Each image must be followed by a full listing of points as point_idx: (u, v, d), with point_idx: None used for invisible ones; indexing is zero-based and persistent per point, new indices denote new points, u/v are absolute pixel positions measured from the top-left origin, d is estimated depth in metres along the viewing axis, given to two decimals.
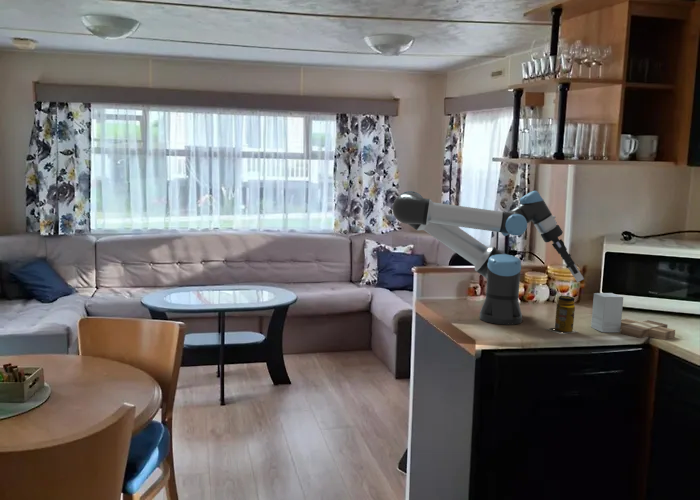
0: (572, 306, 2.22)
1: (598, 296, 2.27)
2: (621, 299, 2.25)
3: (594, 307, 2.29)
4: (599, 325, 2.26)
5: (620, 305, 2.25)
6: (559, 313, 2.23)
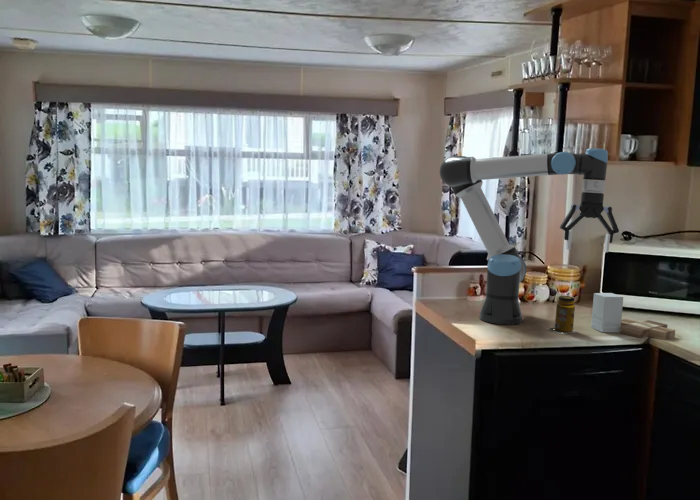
0: (572, 306, 2.22)
1: (598, 296, 2.27)
2: (621, 299, 2.25)
3: (594, 307, 2.29)
4: (599, 325, 2.26)
5: (620, 305, 2.25)
6: (559, 313, 2.23)
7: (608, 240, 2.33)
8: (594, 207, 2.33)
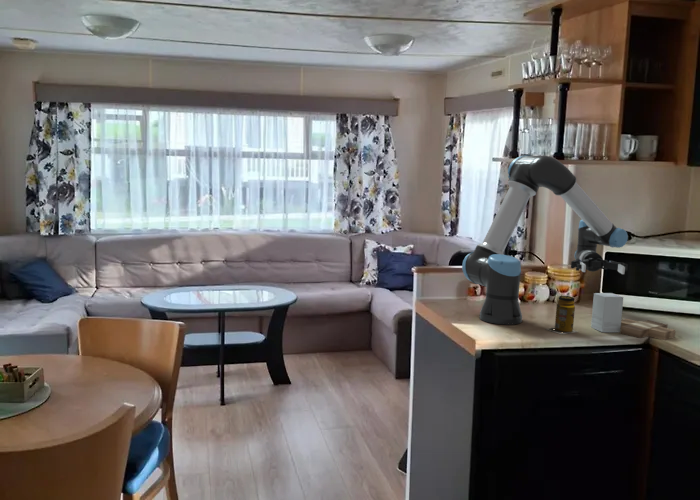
0: (572, 306, 2.22)
1: (598, 296, 2.27)
2: (621, 299, 2.25)
3: (594, 307, 2.29)
4: (599, 325, 2.26)
5: (620, 305, 2.25)
6: (559, 313, 2.23)
7: None
8: None
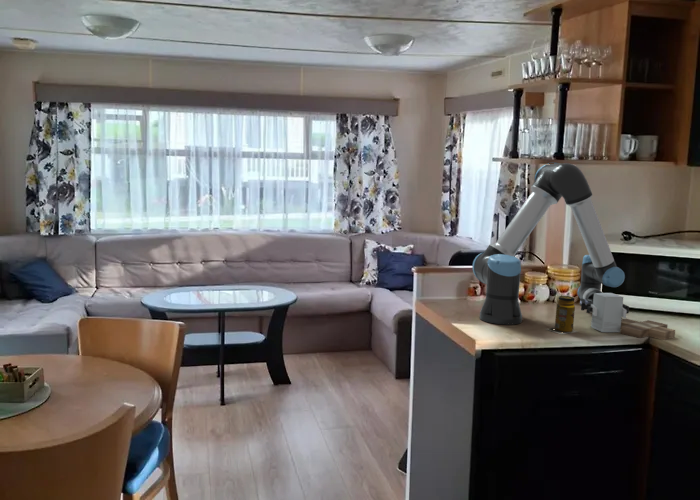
0: (572, 306, 2.22)
1: (598, 296, 2.27)
2: (621, 299, 2.25)
3: None
4: (599, 325, 2.26)
5: (620, 305, 2.25)
6: (559, 313, 2.23)
7: None
8: None
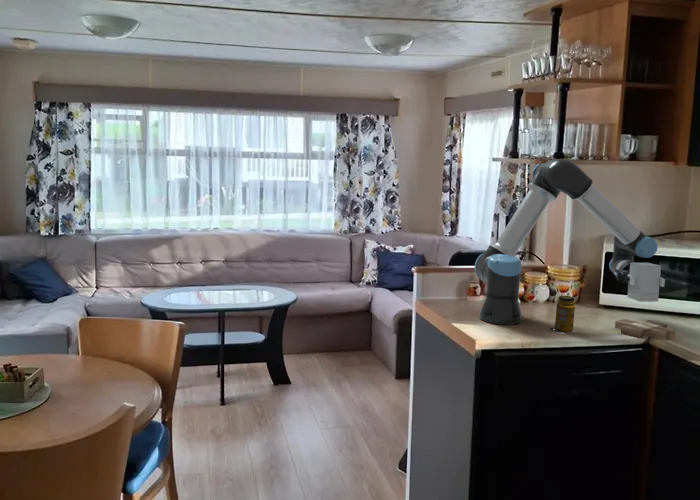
0: (572, 306, 2.22)
1: (635, 265, 2.24)
2: (659, 268, 2.22)
3: None
4: (637, 295, 2.23)
5: (658, 274, 2.22)
6: (559, 313, 2.23)
7: None
8: None
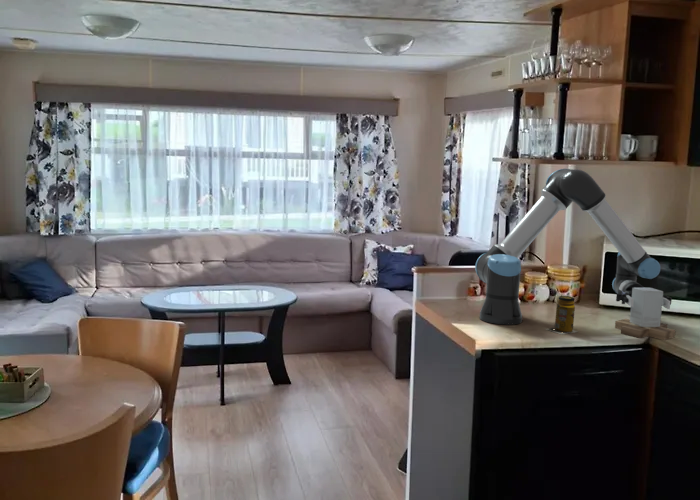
0: (572, 306, 2.22)
1: (637, 290, 2.25)
2: (661, 293, 2.23)
3: None
4: (638, 320, 2.24)
5: (660, 299, 2.23)
6: (559, 313, 2.23)
7: None
8: None
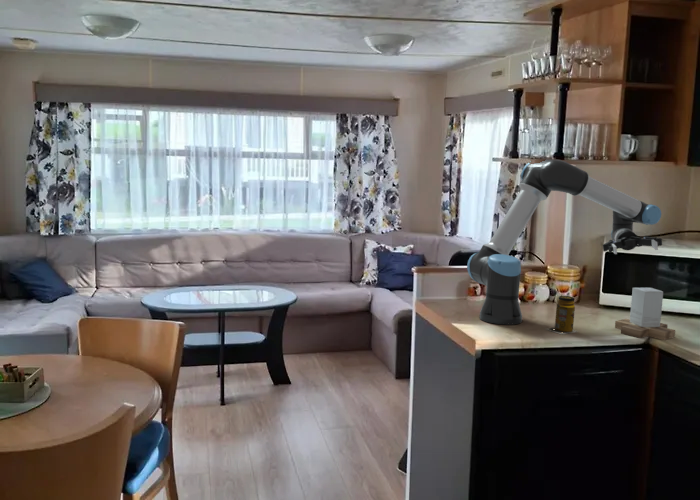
0: (572, 306, 2.22)
1: (637, 290, 2.25)
2: (661, 293, 2.22)
3: (633, 302, 2.27)
4: (639, 320, 2.24)
5: (660, 300, 2.23)
6: (559, 313, 2.23)
7: None
8: None
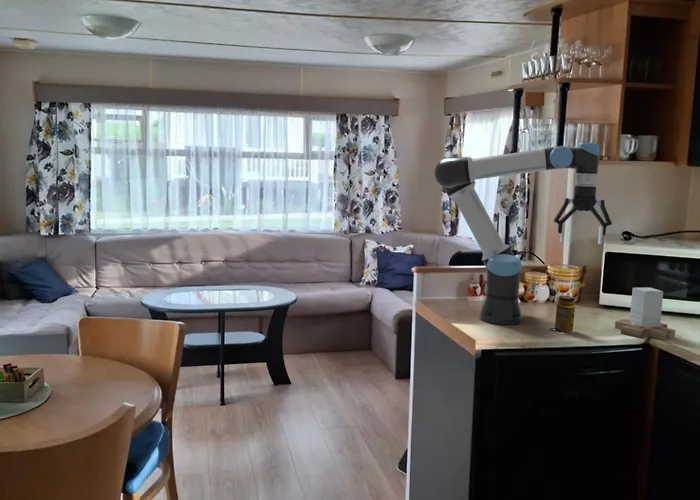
0: (572, 306, 2.22)
1: (637, 290, 2.25)
2: (661, 293, 2.22)
3: (633, 302, 2.27)
4: (639, 320, 2.24)
5: (660, 300, 2.23)
6: (559, 313, 2.23)
7: (601, 232, 2.37)
8: (587, 200, 2.37)
